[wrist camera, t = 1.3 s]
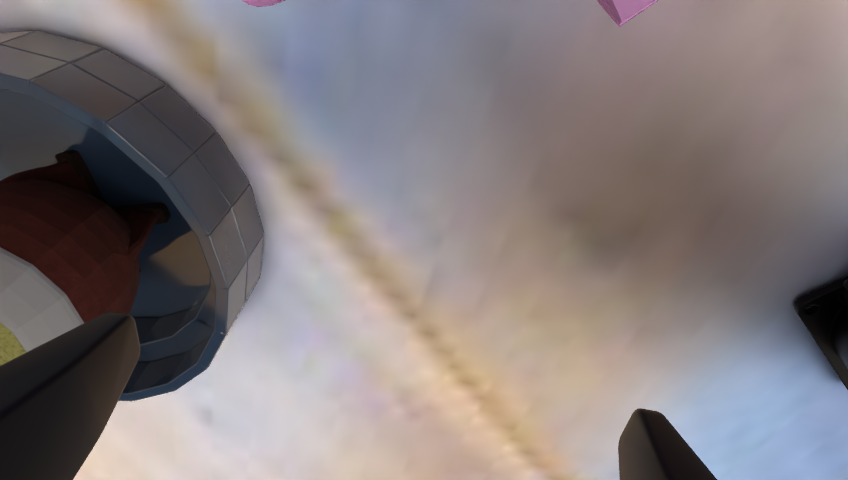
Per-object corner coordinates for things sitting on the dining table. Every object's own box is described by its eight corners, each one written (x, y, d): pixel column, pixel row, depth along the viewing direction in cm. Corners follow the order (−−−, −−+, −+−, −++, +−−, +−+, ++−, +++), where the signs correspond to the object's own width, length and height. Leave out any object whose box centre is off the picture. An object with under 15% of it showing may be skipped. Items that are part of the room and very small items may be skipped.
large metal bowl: (335, 237, 24) (308, 299, 20) (146, 376, 30) (101, 442, 27) (16, -67, 18) (-96, -54, 15) (-132, 181, 25) (-235, 231, 21)
